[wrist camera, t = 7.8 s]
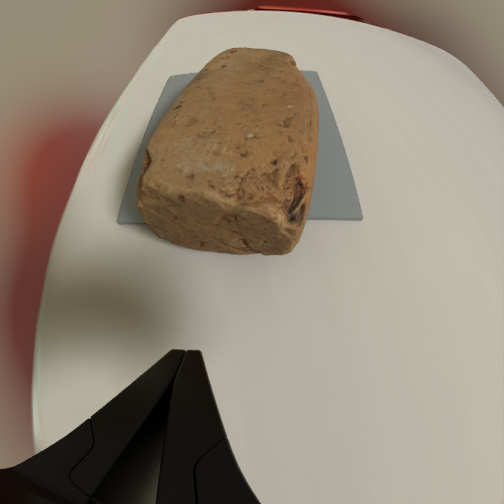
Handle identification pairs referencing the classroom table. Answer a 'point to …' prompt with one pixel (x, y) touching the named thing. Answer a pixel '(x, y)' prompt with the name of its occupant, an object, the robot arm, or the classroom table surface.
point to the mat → (327, 166)
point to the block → (234, 157)
